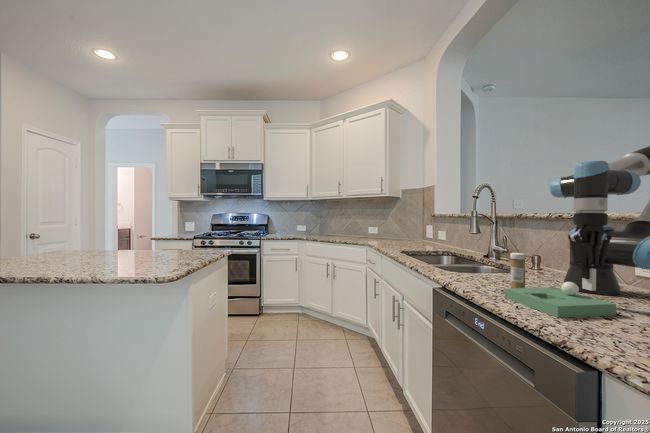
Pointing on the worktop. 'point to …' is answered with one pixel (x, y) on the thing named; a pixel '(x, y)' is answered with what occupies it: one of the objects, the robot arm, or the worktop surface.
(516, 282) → the sprinkles bottle
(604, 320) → the worktop surface
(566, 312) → the putting board
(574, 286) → the ball
